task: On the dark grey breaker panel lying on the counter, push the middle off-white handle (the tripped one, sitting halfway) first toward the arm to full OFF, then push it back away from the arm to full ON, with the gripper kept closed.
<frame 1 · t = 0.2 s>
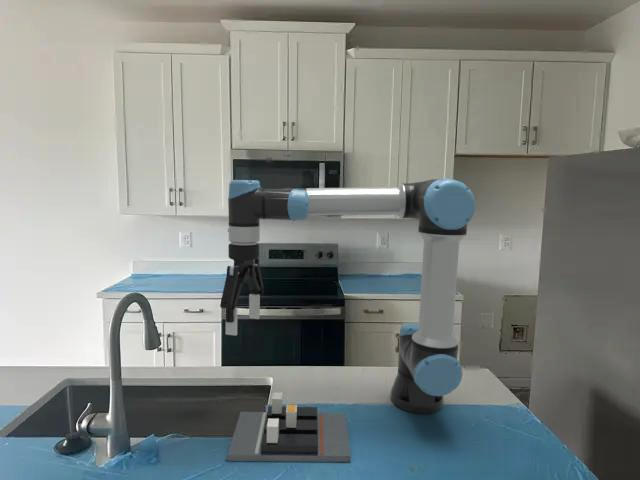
hand: (243, 326, 112), 27 cm above the worktop, fingers open, 13 cm apart
tripped handle: (291, 415, 109), point 6 cm above the worktop, slide at 0.0 cm
handle 1: (272, 430, 103), point 6 cm above the worktop, slide at 4.0 cm
handle 2: (277, 402, 116), point 6 cm above the worktop, slide at 4.0 cm
panel: (291, 437, 110), on the worktop
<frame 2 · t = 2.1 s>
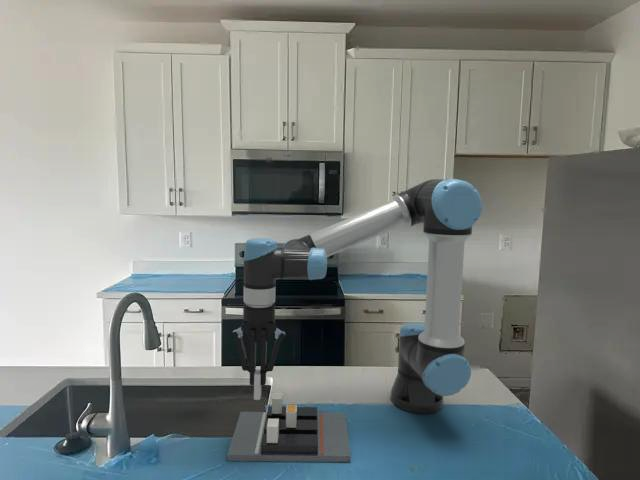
hand: (257, 397, 109), 11 cm above the worktop, fingers closed
nothing on the worktop moved.
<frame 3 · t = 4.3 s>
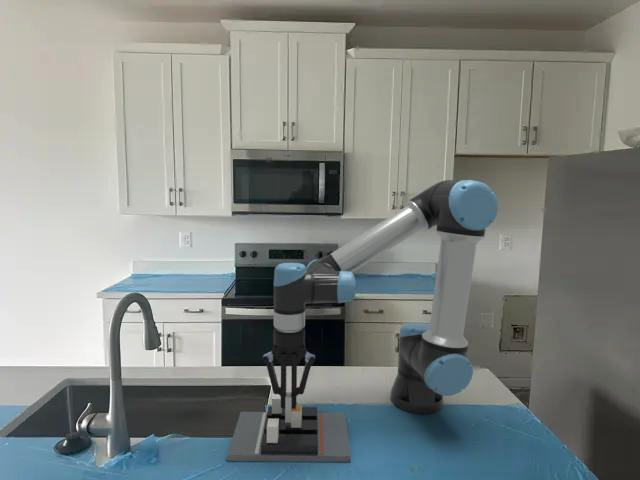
hand: (288, 419, 110), 5 cm above the worktop, fingers closed
tripped handle: (296, 415, 109), point 6 cm above the worktop, slide at -1.3 cm, touching gripper
everything else where it was.
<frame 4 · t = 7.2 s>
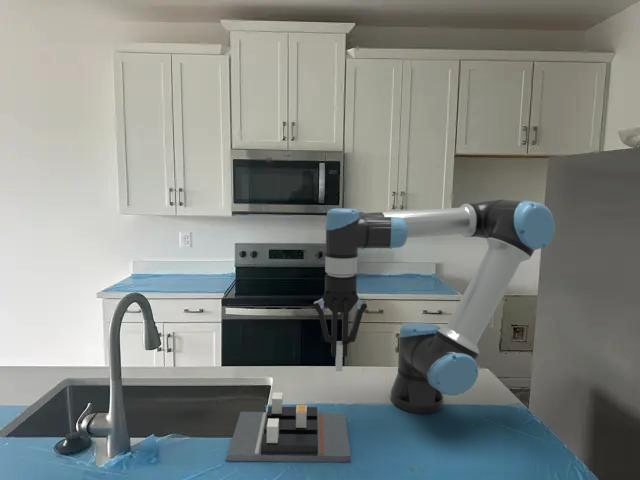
hand: (338, 368, 108), 18 cm above the worktop, fingers closed
tripped handle: (301, 415, 109), point 6 cm above the worktop, slide at -2.4 cm
everything else where it was.
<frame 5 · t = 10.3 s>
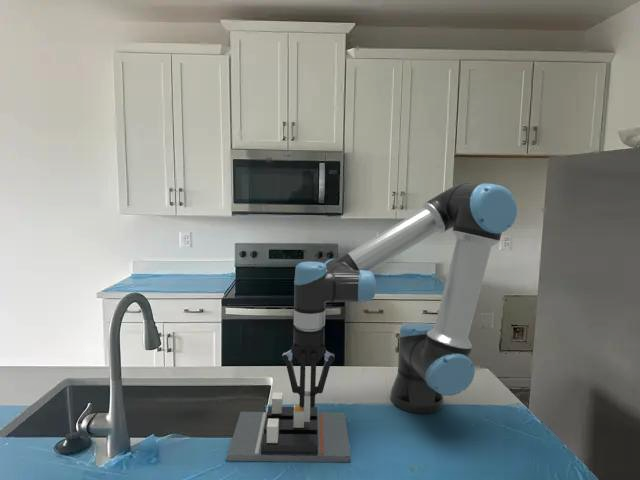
hand: (306, 418, 109), 5 cm above the worktop, fingers closed
tripped handle: (298, 415, 109), point 6 cm above the worktop, slide at -1.8 cm, touching gripper
everything else where it was.
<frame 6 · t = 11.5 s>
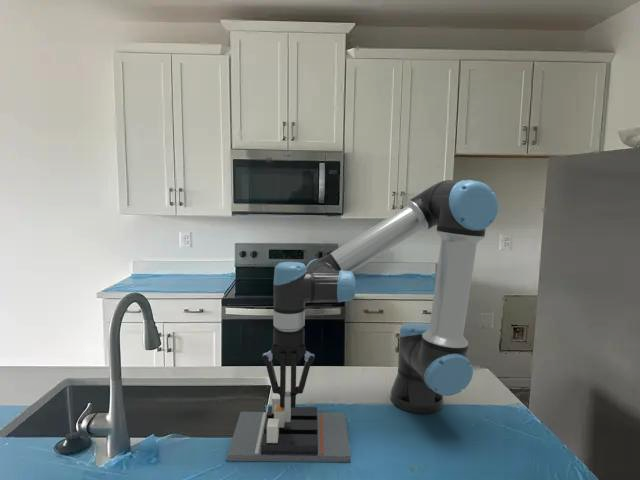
hand: (287, 418, 109), 5 cm above the worktop, fingers closed
tripped handle: (279, 415, 109), point 6 cm above the worktop, slide at 2.9 cm, touching gripper
everything else where it was.
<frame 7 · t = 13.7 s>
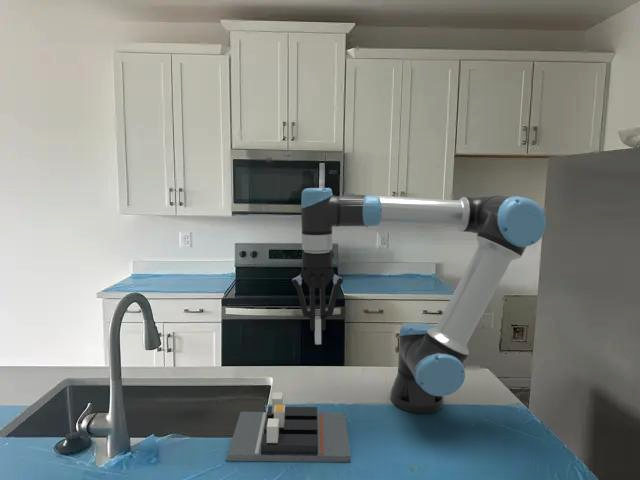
hand: (318, 342, 113), 23 cm above the worktop, fingers closed
tripped handle: (279, 415, 109), point 6 cm above the worktop, slide at 3.0 cm
everything else where it was.
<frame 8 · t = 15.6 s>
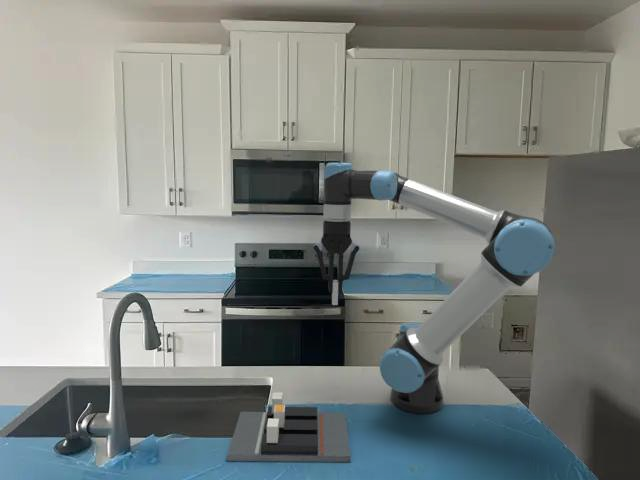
hand: (334, 303, 124), 29 cm above the worktop, fingers closed
nothing on the worktop moved.
at the end: tripped handle slide at 3.0 cm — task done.
